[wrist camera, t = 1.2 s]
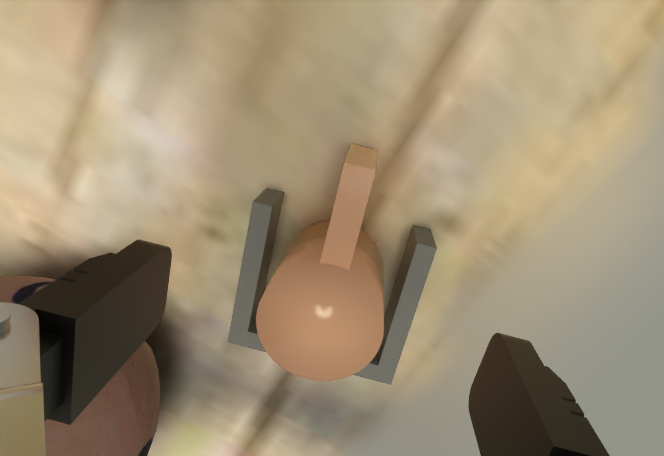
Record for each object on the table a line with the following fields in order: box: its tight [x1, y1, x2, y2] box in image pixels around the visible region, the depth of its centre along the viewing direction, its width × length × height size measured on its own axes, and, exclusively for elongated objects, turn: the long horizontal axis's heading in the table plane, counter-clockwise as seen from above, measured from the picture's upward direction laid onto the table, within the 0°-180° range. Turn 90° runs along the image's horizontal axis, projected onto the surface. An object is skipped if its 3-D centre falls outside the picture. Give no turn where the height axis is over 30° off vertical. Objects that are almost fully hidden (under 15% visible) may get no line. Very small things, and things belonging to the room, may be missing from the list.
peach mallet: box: [256, 144, 384, 381], centre depth 28 cm, size 12×7×8 cm, turn 167°
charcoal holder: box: [228, 188, 437, 384], centre depth 31 cm, size 10×11×4 cm
